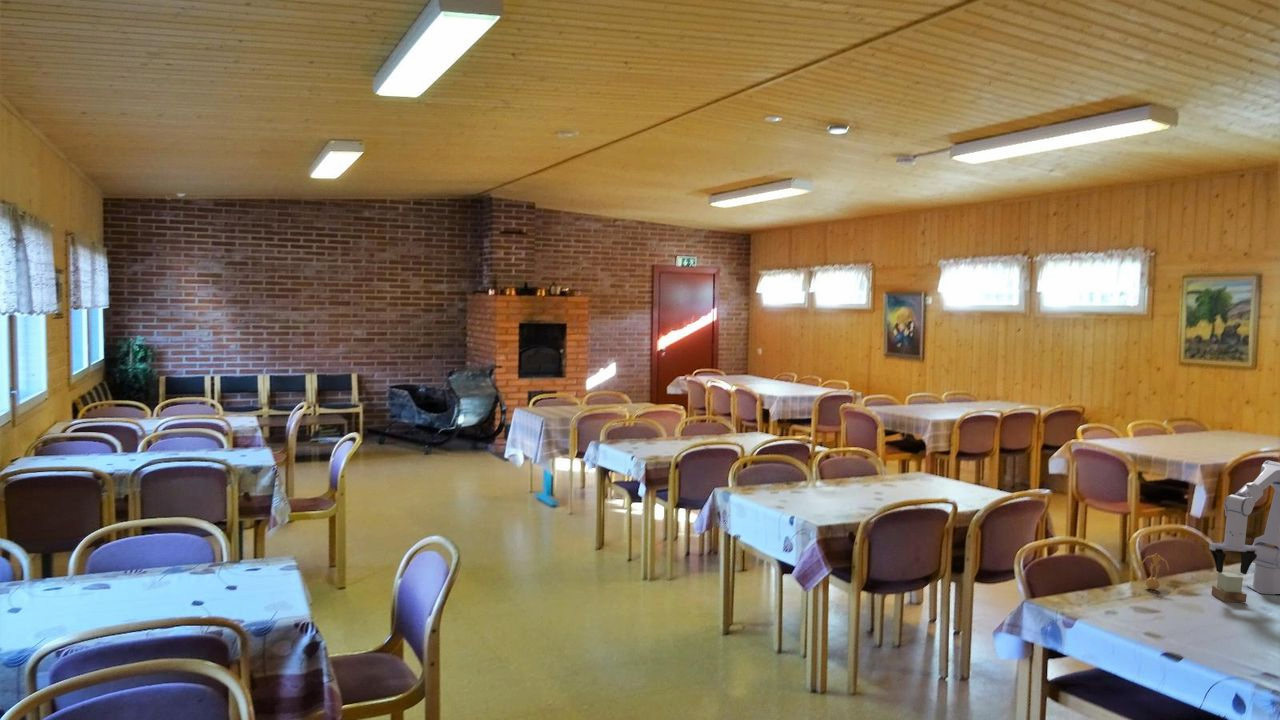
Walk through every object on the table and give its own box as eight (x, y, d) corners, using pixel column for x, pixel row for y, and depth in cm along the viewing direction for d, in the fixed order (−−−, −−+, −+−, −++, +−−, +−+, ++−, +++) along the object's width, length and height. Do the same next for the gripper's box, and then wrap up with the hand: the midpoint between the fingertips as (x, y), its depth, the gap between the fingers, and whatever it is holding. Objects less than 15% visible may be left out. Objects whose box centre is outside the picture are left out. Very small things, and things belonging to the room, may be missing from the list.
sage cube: (1232, 587, 303) (1234, 572, 302) (1241, 592, 298) (1242, 577, 297) (1216, 586, 303) (1218, 571, 303) (1225, 591, 298) (1227, 576, 298)
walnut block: (1233, 595, 304) (1234, 587, 304) (1245, 603, 297) (1246, 594, 297) (1211, 594, 304) (1212, 585, 304) (1223, 601, 297) (1224, 592, 297)
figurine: (1137, 587, 308) (1140, 552, 306) (1140, 583, 312) (1143, 549, 311) (1165, 593, 302) (1168, 558, 301) (1168, 589, 307) (1171, 554, 306)
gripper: (1219, 533, 295) (1215, 575, 296) (1266, 536, 294) (1261, 578, 295) (1207, 528, 302) (1203, 568, 303) (1252, 530, 301) (1248, 571, 303)
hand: (1231, 572), depth 300 cm, fingers open, 7 cm apart
